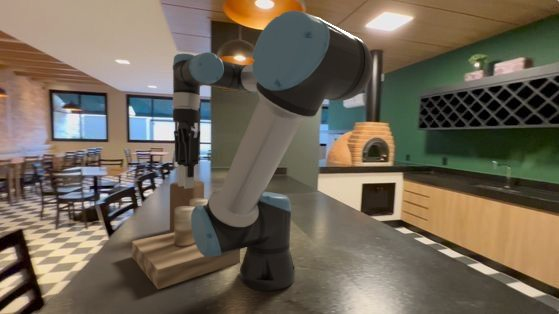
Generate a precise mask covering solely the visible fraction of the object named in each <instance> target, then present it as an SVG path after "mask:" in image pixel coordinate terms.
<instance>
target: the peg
mask: <svg viewBox="0 0 559 314" xmlns="http://www.w3.org/2000/svg"><path fill="white" fill-rule="evenodd" d="M194 208H195V207H193V206H181V207H177V208H175V219H174V245H175V246H176V247H180V248H184V247H190V246H193V245H194V244H195V241H194V238H193V234H192V228H191V214H192V211H193V209H194Z"/></svg>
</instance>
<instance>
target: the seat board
mask: <svg viewBox="0 0 559 314" xmlns="http://www.w3.org/2000/svg"><path fill="white" fill-rule="evenodd" d="M208 200H209V199H207V198H204V199H203V198H197V199H191V200H190V202H189V206H193V207H197V206H199V205H202V206H203V205H206V204H207V203H208ZM131 258H132V259H133V260H134V262H136V264H137V265H138V266H139V267H140V269H141V270H142V272H143V273H144V274H145V275H146V276H147V278H148V279H149V280H150V281H151V283H152V284H153V285H154V287H156V289H157V290H160V289H163V288H166V287H170V286H172V285H175V284H179V283H182V282H184V281H188V280H191V279H194V278H196V277H199V276H203V275H205V274H209V273H211V272H215V271H217V270H220V269H221V270H222V269H223V268H227V267H229V266H233V265H235V264H238V263H240V262H241V249H239V250H236V251H232V252H229V253H226V254H222V255H221V256H213V257H205V256H204V255H202V254H201V253H200V251H199V250H198V248H197V246H196V244H194V245H193V246H190V247H184V248H180V247H176V246H175V245H174V232H173V233H170V232H169V233H165V234H160V235H156V236H151V237H145V238H140V239H134V240H131Z"/></svg>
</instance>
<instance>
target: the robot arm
mask: <svg viewBox="0 0 559 314" xmlns="http://www.w3.org/2000/svg"><path fill="white" fill-rule="evenodd" d="M252 59H253V60H254V61H253V62H252V63H249V64H238V63H234V62H231V61H226V60H222V59H221V58H220V57H219V56H218V55H216V54H215V53H213V52H209V51H207V52H202V53H198V54H196V55H194V54H191V53H177V54H176V55H174V57H173V63H172V84H173V85H172V87H173V88H172V89H173V90H172V91H173V92H172V107H173V108H174V109H173V110H172V120H173V122H174V123H178V125H177V130H174V131H173V135H174V162H175V163H177V166H178V167H177V171H178V172H177V176H178V177H177V182H178V186H184V188H185V189H187V188H194V181H195V166H196V165H198V164H199V153H200V152H199V147H200V135H201V130H197V129H196V124H198V123H200V121H201V120H200V118H201V116H200V114H201V113H200V111H199V109H200V107H201V106H200V104H201V102H202V101H201V99H200V97H201V93H200V91H201V90H200V89H201V87H202V86H208V87H212V88H213V87H214V88H220V89H225V90H226V89H227V90H231V91H236V92H237V91H238V92H241V93H246V94H256V93H257V95H258V96H259V99H258V102H257V105H256V107H255V109H254V112H253V114H252V116H251V118H250V121H249V123H248V126H247V128H246V130H245V132H244V135H243V137H242V139H241V141H240V144H239V146H238V148H237V151H236V153H235V155H234V158H233V160H232V162H231V165H230V166H229V169H228V171H227V175H226V176H225V179H224V181H223V184H222V185H221V187H220V188H217V189H215V190H214V191H213V192H211V194H210V196H209V199H207V200H208V203H207V204H206V205H203V206H202V205H199V206H197V207H195V208H194V209H193V211H192V214H191V228H192V234H193V238H194V241H195V244H196V246H197V248H198V250H199V251H200V253H201V254H202V255H204V256H205V257H213V256H221V255H222V254H226V253H229V252H232V251H236V250H239V249H240V250H241V249H245V250H246V251H245V254H244V256H243V260H242V263H241V265H240V267H239V268H240V269H239V279H240V282H241V283H242V284H243V285H244V286H246V287H247V288H250V289H253V290H256V291H262V292H263V291H266V292H270V291H278V290H279V291H280V290H282V289H285V288H287V287H290V286H291V285H292V284H293V283H294V282H295V280H296V267H295V265H294V262H293V257H292V254H291V250H290V245H291V244H290V241H291V240H290V238H291V221H292V219H291V216H292V209H291V204H292V203H291V200H290V198H289V197H288V196H287V195H284V194H281V193H276V192H270V191H266V189H267V187H268V185H269V183H270V181H271V180H272V178H273V176H274V174H275V172H276V170H277V168H278V166H279V165H280V163H281V161H282V159H283V157H284V155H285V154H286V153H287V150H288V148H289V146H290V145H291V143H292V141H293V140H294V137H295V135H296V134H297V131H298V129H299V128H300V126H301V125H302V122H303V121H304V120H309V119H313V118H314V117H316V115H317V113H318V112H319V110H320V108H321V106H322V104H323V103H324V101H325V100H327V101H336V102H343V101H347V100H350V99H353V98H355V97H357V96H358V95H359V94H361V93H362V92H363V91H364V90H365V88H366V87H367V85H368V84H369V83H370V81H371V78H372V74H373V71H374V70H373V69H374V61H373V56H372V54H371V50H370V49H369V48H368V46H367V44H366V43H365V42H364V41H363V40H362V39H361V38H358V37H357V36H355V35H353V34H350V33H349V32H346V31H344V30H342V29H340V28H339V27H337V26H334V25H332V24H331V23H329V22H327V21H325V20H323V19H322V18H321V17H318V16H315V15H313V14H309V13H306V12H303V11H300V10H288V11H285V12H282V13H281V14H280V15H278V16H275V17H274V18H273V19H272V20H270V21H269V22H268V23H267V25H266V26H265V27H264V28H263V30H262V31H261V33H260V35H259V36H258V39H257V40H256V43H255V47H254V49H253V54H252Z"/></svg>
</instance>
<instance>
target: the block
mask: <svg viewBox="0 0 559 314" xmlns="http://www.w3.org/2000/svg"><path fill="white" fill-rule="evenodd" d="M197 198H203V199H205V182H203V181H201V180H194V188H187V189H185V188H184V186H178V181H176V182H172V183H170V184H169V233H173V232H174V219H175V208H177V207H181V206H189V202H190V200H191V199H197Z"/></svg>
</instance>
